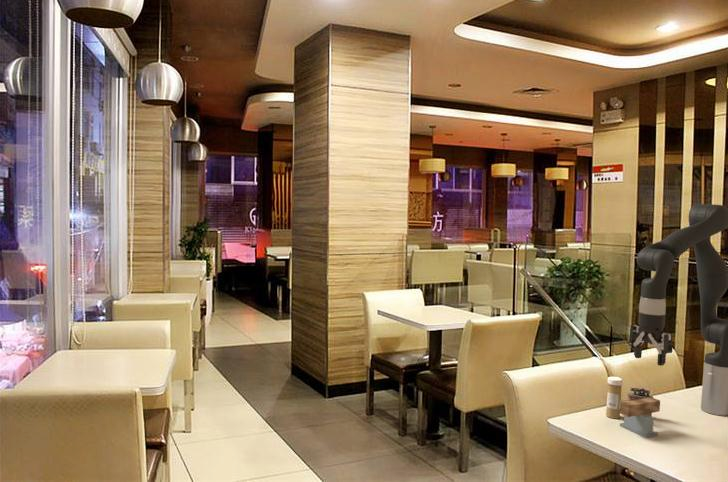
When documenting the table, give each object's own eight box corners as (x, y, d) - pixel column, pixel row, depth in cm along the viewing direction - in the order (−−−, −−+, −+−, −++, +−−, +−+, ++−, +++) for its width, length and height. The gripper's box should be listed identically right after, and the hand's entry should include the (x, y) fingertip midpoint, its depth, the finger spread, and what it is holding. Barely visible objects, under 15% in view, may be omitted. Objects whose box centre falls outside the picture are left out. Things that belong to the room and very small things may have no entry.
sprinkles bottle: (622, 417, 197) (625, 379, 196) (614, 419, 195) (617, 381, 194) (610, 413, 201) (613, 375, 200) (602, 415, 199) (605, 377, 198)
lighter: (651, 416, 199) (653, 388, 198) (652, 419, 196) (654, 391, 195) (625, 412, 202) (627, 384, 201) (626, 416, 199) (628, 387, 198)
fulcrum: (630, 423, 192) (631, 406, 191) (656, 435, 183) (658, 417, 182) (619, 425, 190) (620, 408, 189) (645, 437, 181) (646, 419, 180)
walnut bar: (651, 408, 190) (651, 397, 190) (659, 411, 187) (660, 400, 187) (619, 413, 185) (620, 402, 184) (628, 417, 182) (628, 405, 181)
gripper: (680, 315, 178) (677, 366, 180) (641, 306, 191) (638, 354, 193) (663, 317, 175) (660, 369, 177) (625, 308, 188) (622, 356, 190)
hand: (649, 361), depth 185 cm, fingers open, 8 cm apart
